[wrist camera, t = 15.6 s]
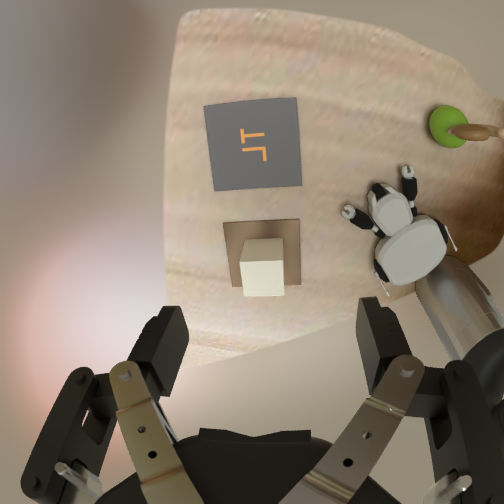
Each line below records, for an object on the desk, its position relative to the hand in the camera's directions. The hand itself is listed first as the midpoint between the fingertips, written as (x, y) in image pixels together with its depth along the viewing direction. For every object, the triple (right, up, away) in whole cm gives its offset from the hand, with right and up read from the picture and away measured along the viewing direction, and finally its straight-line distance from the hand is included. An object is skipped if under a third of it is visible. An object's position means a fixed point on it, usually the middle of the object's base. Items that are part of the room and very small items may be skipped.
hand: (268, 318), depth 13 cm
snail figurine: (+24, +20, +17) cm, 35 cm away
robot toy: (+19, +7, +25) cm, 32 cm away
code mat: (0, +16, +21) cm, 27 cm away
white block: (+1, +2, +28) cm, 28 cm away
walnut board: (+1, +3, +28) cm, 28 cm away
